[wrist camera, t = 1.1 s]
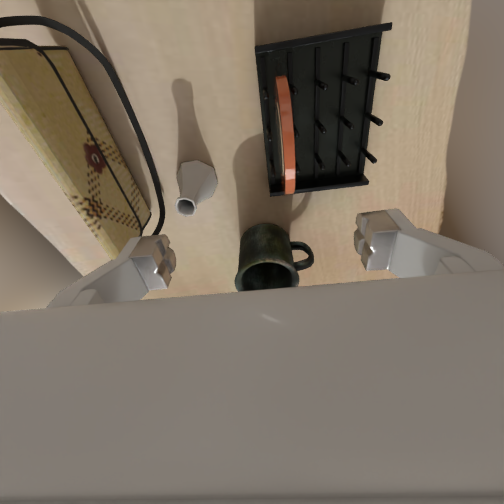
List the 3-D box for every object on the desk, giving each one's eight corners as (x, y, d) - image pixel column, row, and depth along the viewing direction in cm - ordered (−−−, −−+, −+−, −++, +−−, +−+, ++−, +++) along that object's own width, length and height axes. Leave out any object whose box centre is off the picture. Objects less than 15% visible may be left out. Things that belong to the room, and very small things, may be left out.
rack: (254, 46, 34) (254, 46, 29) (379, 24, 33) (404, 19, 27) (269, 186, 47) (271, 205, 41) (360, 175, 45) (375, 193, 40)
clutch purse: (178, 215, 51) (155, 266, 39) (145, 221, 52) (113, 273, 40) (90, 13, 33) (-3, -5, 21) (42, 28, 33) (-73, 19, 22)
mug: (230, 228, 52) (225, 268, 43) (301, 209, 49) (312, 247, 40) (247, 266, 59) (246, 308, 49) (311, 251, 56) (323, 293, 46)
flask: (219, 162, 44) (211, 188, 36) (216, 200, 49) (208, 230, 41) (176, 156, 44) (158, 180, 36) (177, 195, 48) (162, 224, 40)
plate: (271, 71, 35) (279, 84, 24) (281, 70, 35) (293, 81, 24) (279, 171, 44) (287, 214, 33) (287, 170, 44) (297, 212, 33)
